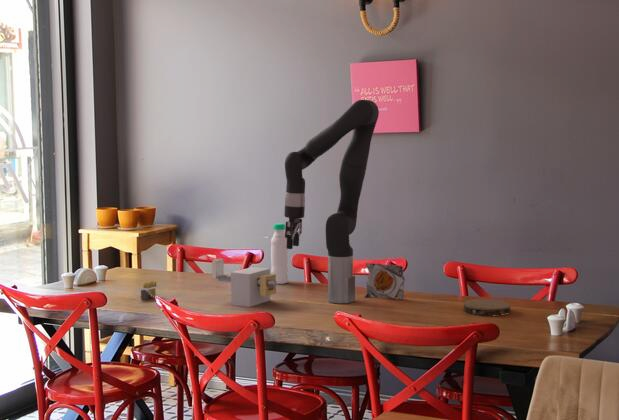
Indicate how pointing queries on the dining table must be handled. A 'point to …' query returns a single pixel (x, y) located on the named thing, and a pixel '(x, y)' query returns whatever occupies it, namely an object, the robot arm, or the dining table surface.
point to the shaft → (219, 274)
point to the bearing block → (247, 287)
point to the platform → (148, 290)
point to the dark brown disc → (486, 307)
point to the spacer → (264, 287)
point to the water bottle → (279, 254)
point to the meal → (385, 281)
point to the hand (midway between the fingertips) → (292, 247)
